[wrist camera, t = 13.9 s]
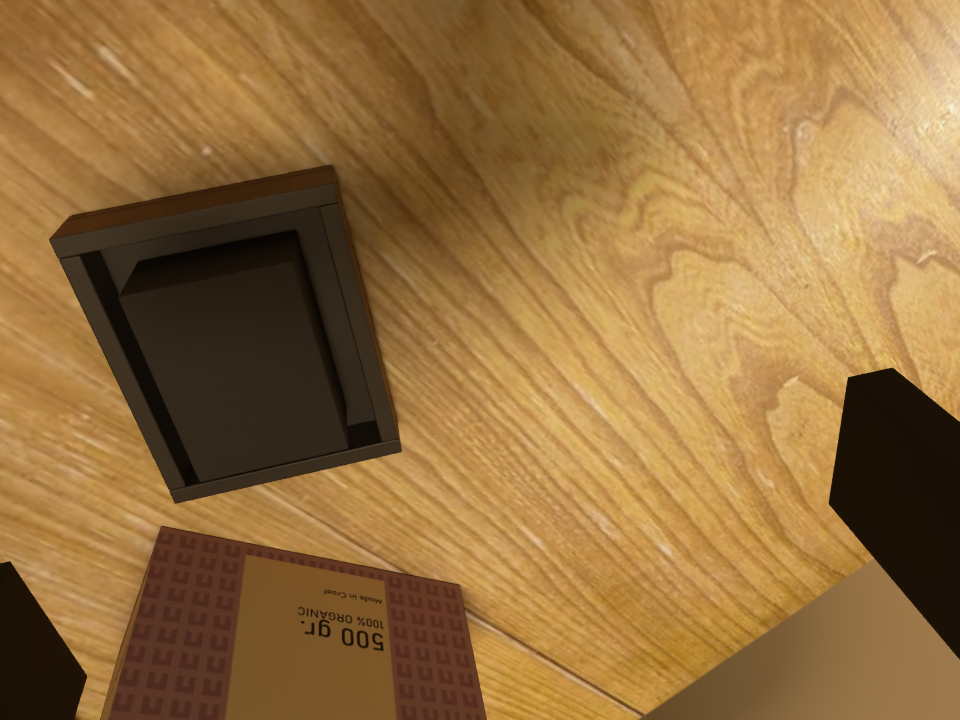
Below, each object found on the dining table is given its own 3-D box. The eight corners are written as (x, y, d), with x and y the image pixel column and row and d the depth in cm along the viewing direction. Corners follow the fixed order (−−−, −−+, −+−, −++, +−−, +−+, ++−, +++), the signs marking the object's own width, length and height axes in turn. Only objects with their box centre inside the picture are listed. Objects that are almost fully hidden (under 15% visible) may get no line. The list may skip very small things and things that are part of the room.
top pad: (137, 260, 31) (116, 297, 28) (295, 228, 31) (292, 261, 28) (209, 435, 35) (199, 482, 32) (346, 405, 36) (349, 449, 33)
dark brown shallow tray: (68, 216, 30) (48, 239, 28) (332, 164, 31) (333, 182, 28) (183, 469, 37) (174, 504, 34) (397, 421, 37) (402, 452, 35)
